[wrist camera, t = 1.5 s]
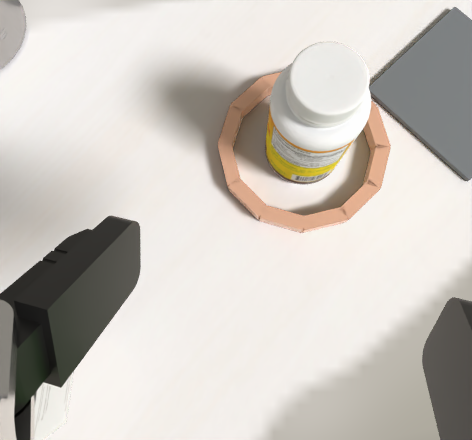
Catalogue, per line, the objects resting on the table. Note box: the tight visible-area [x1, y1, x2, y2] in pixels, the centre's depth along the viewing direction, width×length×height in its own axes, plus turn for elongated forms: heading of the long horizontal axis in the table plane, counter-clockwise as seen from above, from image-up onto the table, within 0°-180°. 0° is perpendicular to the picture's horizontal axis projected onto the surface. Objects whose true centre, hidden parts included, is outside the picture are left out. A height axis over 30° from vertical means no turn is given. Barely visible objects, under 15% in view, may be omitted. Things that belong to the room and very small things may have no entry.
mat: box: [369, 7, 472, 181], centre depth 29 cm, size 10×10×1 cm
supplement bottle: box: [265, 42, 371, 185], centre depth 23 cm, size 6×6×10 cm
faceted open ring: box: [218, 72, 391, 233], centre depth 28 cm, size 12×12×1 cm
